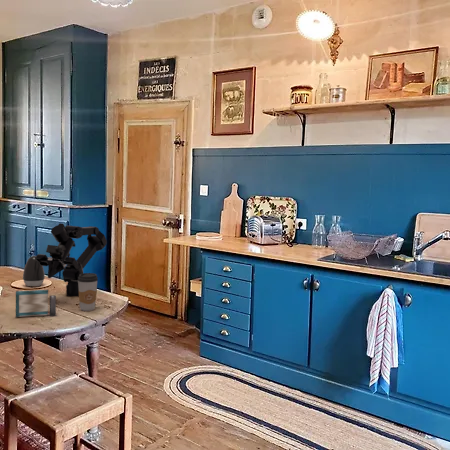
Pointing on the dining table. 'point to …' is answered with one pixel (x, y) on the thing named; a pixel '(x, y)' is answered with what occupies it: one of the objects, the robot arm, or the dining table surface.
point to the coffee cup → (87, 291)
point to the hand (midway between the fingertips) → (48, 277)
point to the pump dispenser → (33, 273)
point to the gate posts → (52, 305)
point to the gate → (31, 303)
